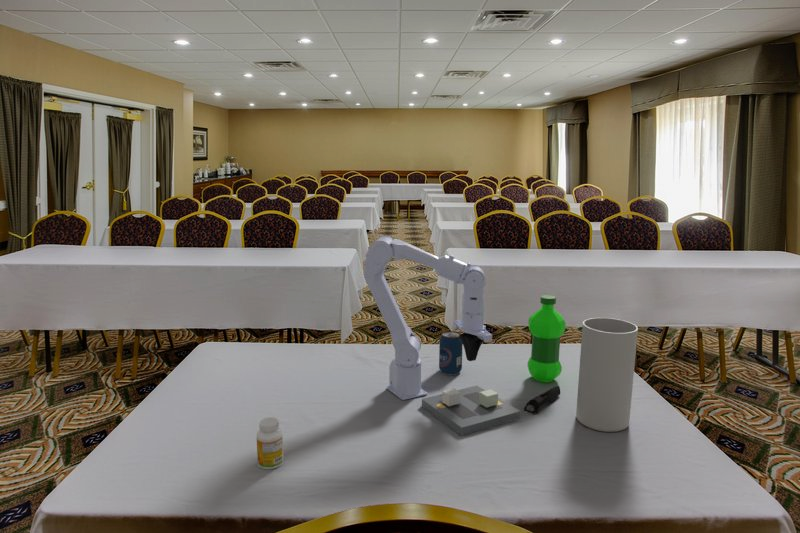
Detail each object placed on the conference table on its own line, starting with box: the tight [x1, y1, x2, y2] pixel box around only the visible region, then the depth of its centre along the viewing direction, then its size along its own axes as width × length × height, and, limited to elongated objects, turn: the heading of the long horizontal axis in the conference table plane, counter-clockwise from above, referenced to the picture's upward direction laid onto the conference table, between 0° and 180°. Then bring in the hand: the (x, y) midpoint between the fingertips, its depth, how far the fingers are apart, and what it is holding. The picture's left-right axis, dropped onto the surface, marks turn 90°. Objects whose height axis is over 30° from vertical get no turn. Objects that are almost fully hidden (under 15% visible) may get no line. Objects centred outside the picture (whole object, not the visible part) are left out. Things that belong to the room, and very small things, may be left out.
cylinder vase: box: [575, 317, 639, 433], centre depth 139 cm, size 12×12×25 cm
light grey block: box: [441, 387, 461, 406], centre depth 146 cm, size 3×4×3 cm
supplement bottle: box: [256, 417, 284, 470], centre depth 121 cm, size 5×5×10 cm
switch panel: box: [421, 385, 521, 436], centre depth 146 cm, size 18×18×2 cm
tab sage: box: [479, 388, 499, 408], centre depth 145 cm, size 3×4×3 cm
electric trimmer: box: [523, 385, 561, 415], centre depth 151 cm, size 4×16×3 cm, turn 138°
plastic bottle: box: [527, 294, 567, 383], centre depth 165 cm, size 10×10×25 cm
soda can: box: [438, 330, 463, 376], centre depth 172 cm, size 7×7×12 cm
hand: (471, 359), depth 154 cm, fingers closed
